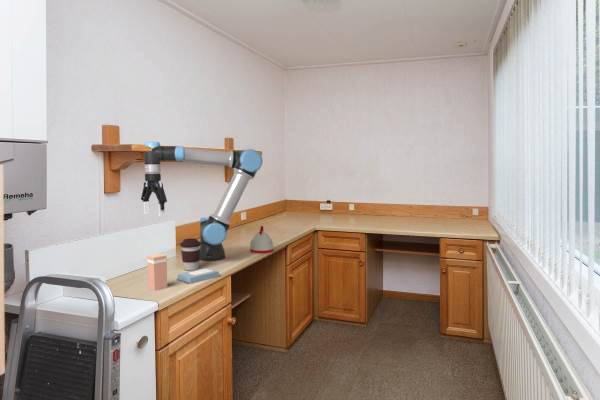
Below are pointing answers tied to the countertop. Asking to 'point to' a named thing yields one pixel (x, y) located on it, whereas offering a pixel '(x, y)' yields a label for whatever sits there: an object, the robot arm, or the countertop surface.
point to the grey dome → (261, 243)
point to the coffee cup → (190, 254)
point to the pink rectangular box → (157, 272)
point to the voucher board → (197, 275)
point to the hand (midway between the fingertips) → (154, 215)
